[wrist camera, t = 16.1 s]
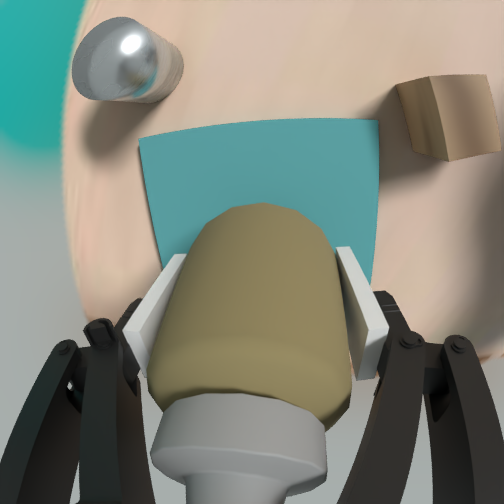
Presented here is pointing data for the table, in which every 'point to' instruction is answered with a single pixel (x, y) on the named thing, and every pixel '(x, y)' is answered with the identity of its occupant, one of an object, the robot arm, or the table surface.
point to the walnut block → (450, 116)
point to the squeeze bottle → (251, 360)
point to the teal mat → (266, 178)
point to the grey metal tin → (126, 63)
